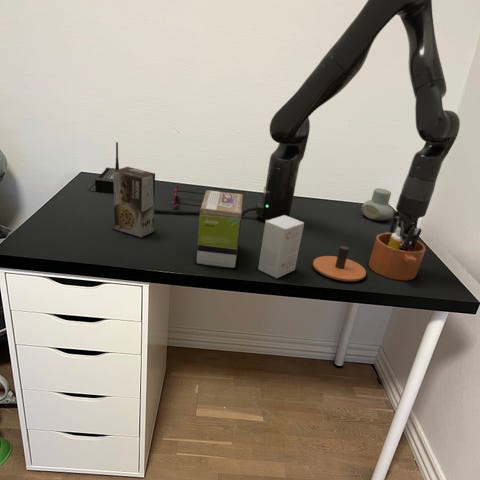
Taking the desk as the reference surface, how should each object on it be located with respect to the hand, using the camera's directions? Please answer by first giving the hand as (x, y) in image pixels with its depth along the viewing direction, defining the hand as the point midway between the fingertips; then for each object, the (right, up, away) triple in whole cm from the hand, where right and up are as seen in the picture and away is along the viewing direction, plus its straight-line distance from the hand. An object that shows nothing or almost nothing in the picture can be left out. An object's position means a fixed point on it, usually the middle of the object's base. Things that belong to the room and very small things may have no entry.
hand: (395, 255), depth 128 cm
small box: (-33, -5, -8) cm, 34 cm away
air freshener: (+6, +19, +40) cm, 44 cm away
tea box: (-48, -1, -5) cm, 49 cm away
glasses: (-56, +19, +26) cm, 65 cm away
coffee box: (-72, +7, +2) cm, 72 cm away
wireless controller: (-85, +27, +31) cm, 94 cm away
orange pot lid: (-16, -4, -4) cm, 17 cm away
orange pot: (0, -4, +2) cm, 4 cm away
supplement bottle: (0, -2, +1) cm, 3 cm away
